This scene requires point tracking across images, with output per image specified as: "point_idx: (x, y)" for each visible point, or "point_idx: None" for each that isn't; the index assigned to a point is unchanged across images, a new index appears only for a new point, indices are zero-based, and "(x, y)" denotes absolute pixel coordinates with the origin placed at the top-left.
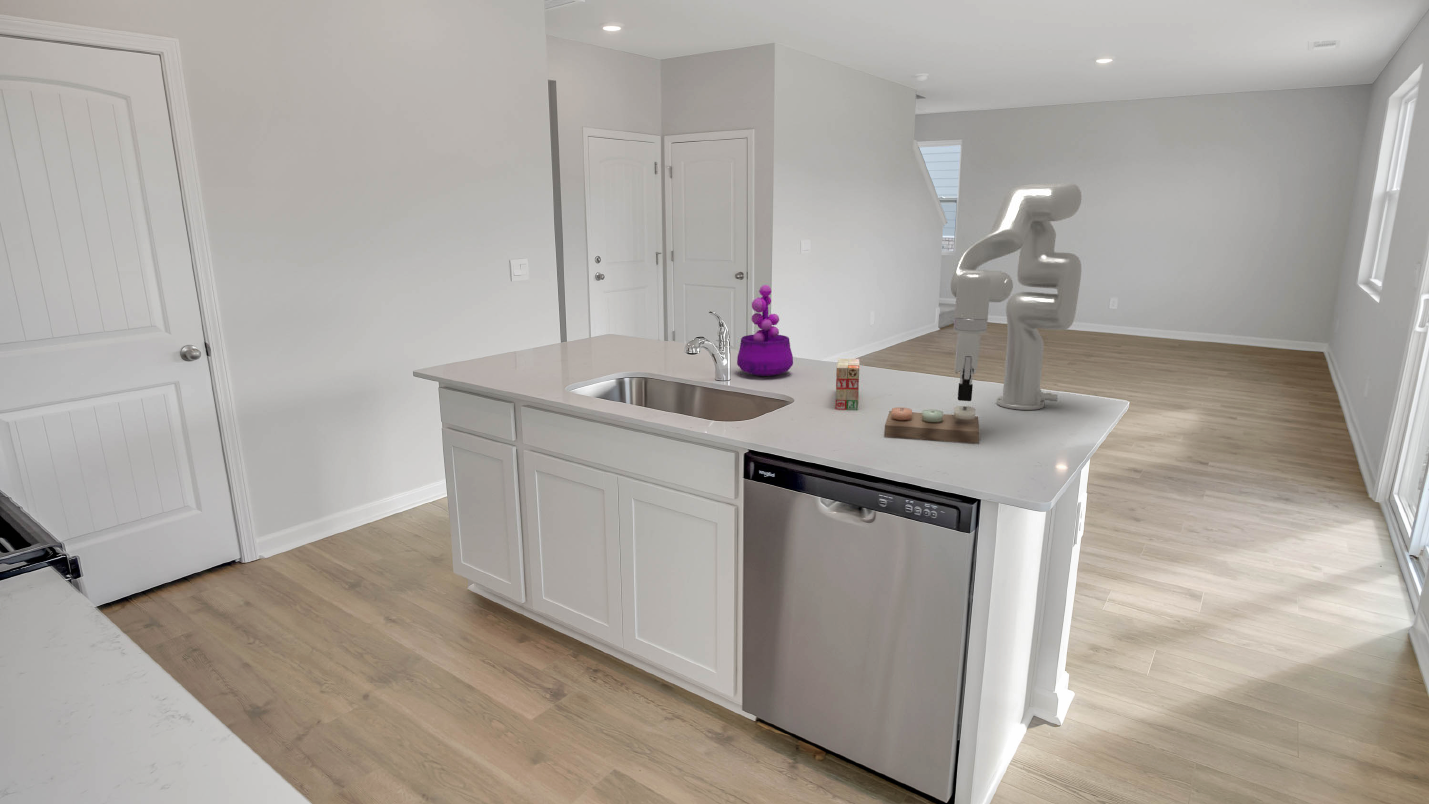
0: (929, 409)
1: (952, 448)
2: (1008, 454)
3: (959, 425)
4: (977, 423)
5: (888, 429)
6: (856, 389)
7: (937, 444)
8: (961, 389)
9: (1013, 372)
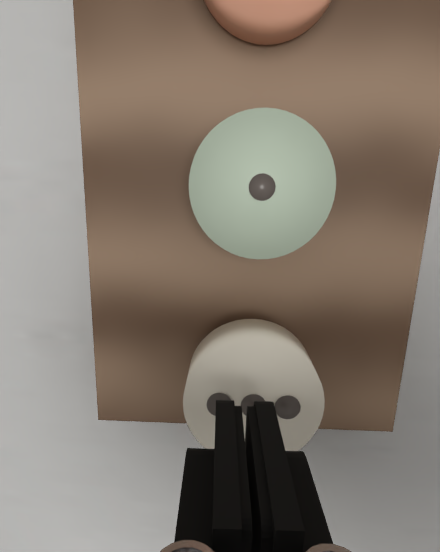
0: (330, 162)
1: (14, 281)
2: (13, 474)
3: (188, 335)
4: None
5: None
6: None
7: (52, 216)
8: (211, 500)
9: None
